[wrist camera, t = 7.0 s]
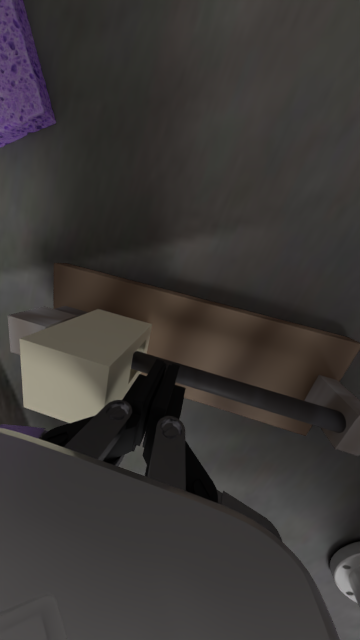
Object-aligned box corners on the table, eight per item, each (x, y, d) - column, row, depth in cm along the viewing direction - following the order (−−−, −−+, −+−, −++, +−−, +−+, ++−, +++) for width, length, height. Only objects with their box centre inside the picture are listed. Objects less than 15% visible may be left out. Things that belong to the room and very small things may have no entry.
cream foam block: (152, 324, 15) (109, 366, 9) (143, 369, 17) (101, 434, 10) (98, 308, 16) (19, 338, 9) (94, 354, 17) (23, 407, 11)
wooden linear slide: (348, 337, 15) (439, 384, 9) (298, 423, 19) (341, 500, 12) (66, 263, 18) (-11, 261, 12) (64, 350, 21) (3, 384, 15)
